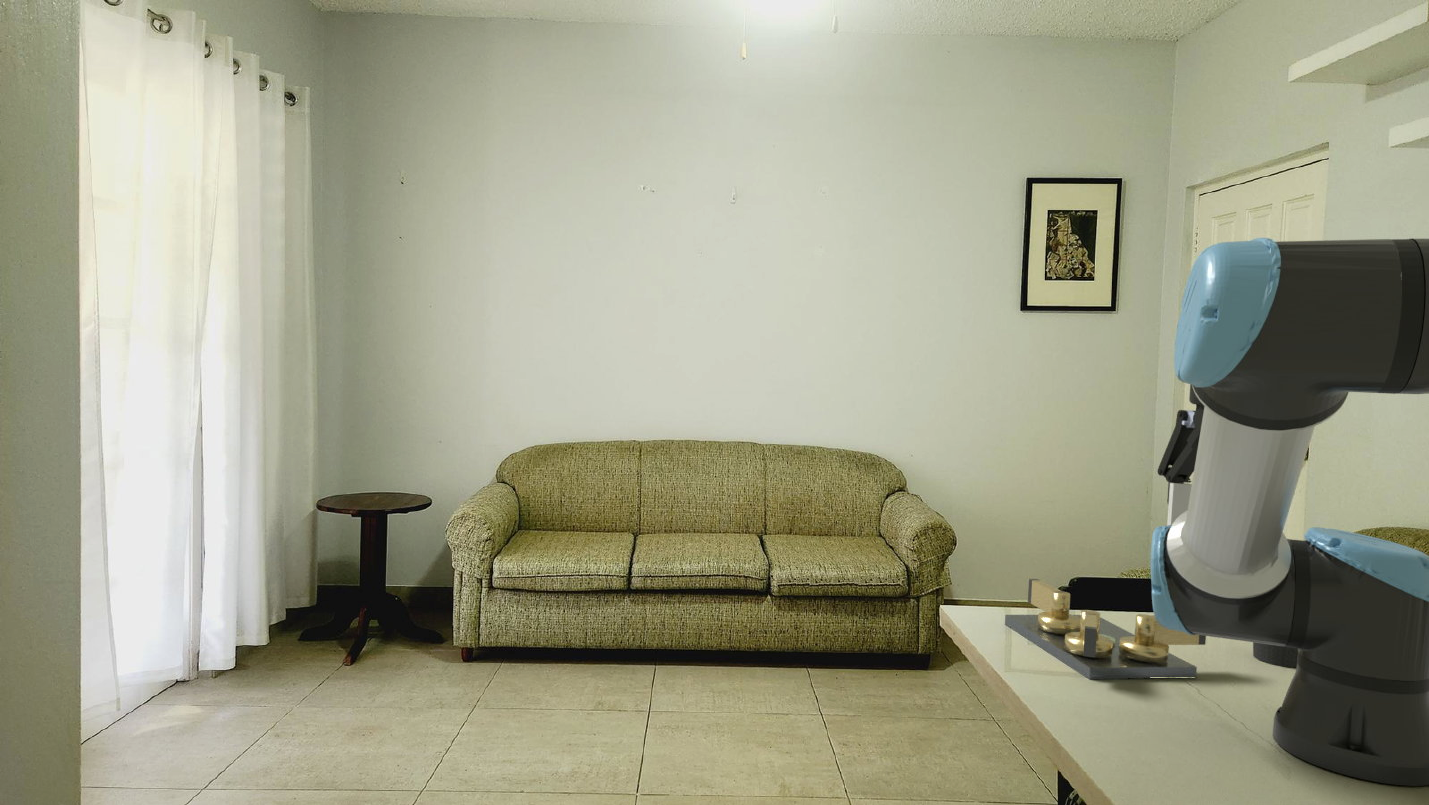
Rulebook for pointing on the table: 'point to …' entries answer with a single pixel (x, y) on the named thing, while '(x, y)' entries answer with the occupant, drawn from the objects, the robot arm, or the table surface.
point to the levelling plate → (1099, 667)
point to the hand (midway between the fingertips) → (1212, 541)
